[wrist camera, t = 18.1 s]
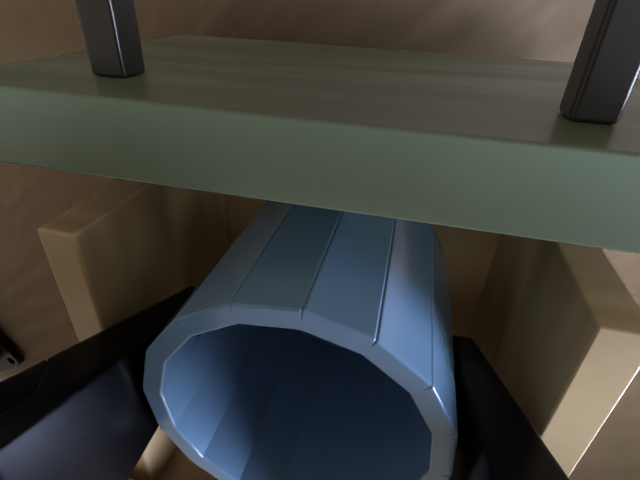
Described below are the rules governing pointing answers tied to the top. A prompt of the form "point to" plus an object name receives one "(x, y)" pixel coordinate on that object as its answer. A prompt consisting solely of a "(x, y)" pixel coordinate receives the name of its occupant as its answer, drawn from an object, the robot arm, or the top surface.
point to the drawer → (356, 185)
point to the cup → (313, 353)
